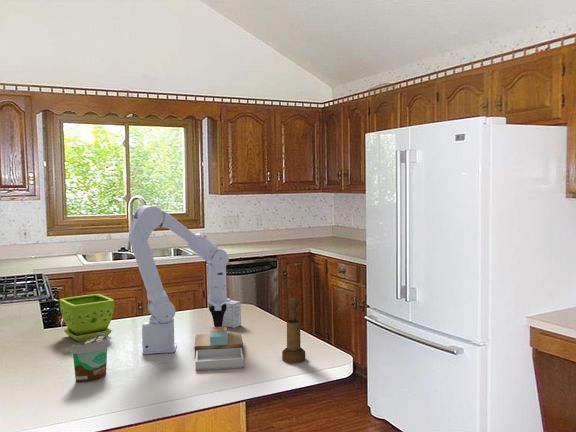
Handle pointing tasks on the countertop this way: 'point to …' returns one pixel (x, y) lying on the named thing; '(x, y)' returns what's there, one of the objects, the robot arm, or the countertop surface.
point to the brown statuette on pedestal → (293, 336)
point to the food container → (91, 358)
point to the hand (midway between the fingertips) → (218, 327)
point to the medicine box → (232, 314)
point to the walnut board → (204, 344)
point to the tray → (219, 359)
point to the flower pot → (87, 315)
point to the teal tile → (218, 338)
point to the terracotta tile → (218, 329)
